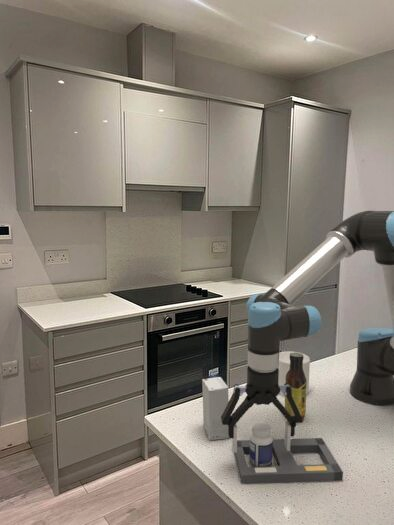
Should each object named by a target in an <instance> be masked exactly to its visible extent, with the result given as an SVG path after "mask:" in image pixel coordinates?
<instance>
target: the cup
mask: <svg viewBox="0 0 394 525" xmlns="http://www.w3.org/2000/svg"><path fill="white" fill-rule="evenodd" d="M294 352H295V351H288V350H287V351H279V367H278V369H279V378H278V385H279V386H283V385H284V384H285V383H286V374H287V372H288V371H289V369H290V353H294ZM296 352H297V353H299V352H298V351H296ZM300 353H301V354H303V371H304V374H305V377H306V380H307V381H306V396H307V395H308V394H309V388H310V370H311V369H310V367H311V359H310V357H309V356H308V355H306V354H305V353H303V352H300ZM278 395H281V396H283V397H285V395H284V394H283V393H282V392H281V391H280V392H279V394H278Z"/></svg>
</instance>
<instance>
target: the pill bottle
mask: <svg viewBox="0 0 394 525" xmlns="http://www.w3.org/2000/svg"><path fill="white" fill-rule="evenodd" d="M273 439H274V438H273V436H272V427H271V426H270V424H268V423H266V422H255V423H253V424H252V426H251V434H250V435H249V440H250V450H249V458H248V459H249V462H248V463H249V464H250V467H257V466H273V457H274V456H273Z"/></svg>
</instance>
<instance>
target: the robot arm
mask: <svg viewBox="0 0 394 525" xmlns="http://www.w3.org/2000/svg"><path fill="white" fill-rule="evenodd" d="M360 251H370V252H371V251H372V252H373V254H374V255H373V256H374V260H375V261H374V262H375V263H376V264H377V265H379V266H381V267H382V274H383V279H384V285H385V289H386V296H387V301H388V308H389V313H390V320H391V324H392V328H389V327H388V328H387V327H367V328H364V329H361V330H360V331H359V333H358V339H357V353H356V370H355V373H354V375H353V378H352V380H351V382H350V385H349V393H350V395H352V397H354V398H355V399H357V400H359V401H361V402H364V403H367V404H371V405H376V406H377V405H378V406H391V405H394V210H365V211H360V212H357V213H354V214H352V215H350V216H349V217H347V218H345V219H344V220H342V221H341V222H340V223H338V224H337V225H336V226H335V227H333V228H332V229H331V230H330V231H329V232H328V233H326V236H325V240H323V242H321V243H320V244H319V245H318V246H316V248H314V249H313V250H312V251H311V252H310V253H309V254H308V255H307V256H306V257H305V258H303V259H302V260H301V261H300V262H299V263H298V264H297V265H295V266H294V267H293V268H292V269H291V270H289V271H288V273H287V274H286V275H284V276H283V277H282V278H280V279H279V281H277V282H276V284H275V283H274V285H273V286H272V287H271V288H270V289H269V290H267V291H266V292H265V293H264V294H263V293H262V294H261V293H258V294H253V295H251V296H250V297H249V298H248V300H247V302H246V305H245V310H246V313H247V315H248V316H247V364H246V365H247V367H246V368H247V369H246V370H247V371H246V373H247V374H246V385H245V386H243V385H241V386H240V385H239V384H237V383H235V384H234V385H233V392H232V394H231V396H230V398H229V399H228V400H229V402H228V404H227V406H226V408H225V410H224V412H223V414H222V416H221V420H222V424H223V425H228V434H229V438H228V439H232V440H231V442H232V445H231V447H232V450H233V454H234V453H235V452H237V440H238V426H237V424H238V422H239V421H240V420H241V419H242V418H243V416H245V414H246V412H248V410H249V409H250V408H252V407H253V406H255V405H256V406H261V405H268V406H269V405H270V404H272V405H274V407H276V408H277V410H278V411H279V412H280V414H281V415H282V416H283V417H284V418H285V419H286V420H284V438H283V439H284V445H285V447H286V450H287V451H290V440H291V439H292V437H294V436H295V435H296V434H295V431H296V427H297V424H298V423H299V424H302V423H303V422H304V419H302V417H301V415H300V413H299V411H298V408H297V406H296V404H295V402H294V400H293V397H292V390H291V387H290V386H289V384H288V383H285V384H284V385H283V386H279V385H278V378H279V369H278V367H279V353H280V348H281V347H280V345H281V342H282V341H283V342H284V341H286V340H293V339H300V338H308V337H310V336H314V335H317V334H318V333H319V332H320V330H321V328H322V316H321V314H320V312H319V310H318V309H317V308H316V307H315V306H313V305H301V306H296V305H294V304H295V303H296V302H298V301H299V300H300V299H302V297H303V296H304V295H305V294H306V293H308V292H309V291H310V290H311V289H312V288H313V287H314V286H315V285H317V284H318V282H320V281H321V279H323V278H324V277H325V276H326V275H327V274H328V273H330V271H332V269H333V268H335V267H336V266H337V265H338V264H340V262H341V261H342V260H343V259H344V258H351V257H352V256H353V255H354V254H355V253H358V252H360ZM280 391H281V392H282V393H283V394H284V395H286V397H287V400H288V402H289V404H290V406H291V408H292V410H293V413H294V415H295V416H291V415H290V413H289V412H288V411H287V410H286V409H285V405H283V403H282V402H281V401H280V400H279V399H278V395H280V394H279V392H280ZM244 393H245V394H246V396H245V398H244V400H243V401H242V402H241V403H240V405H239V406H238V407H237V408H236V406H237V404H238V402H239V400H240V397H242V396H243V394H244ZM235 408H236V409H235Z"/></svg>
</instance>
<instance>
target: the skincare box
mask: <svg viewBox="0 0 394 525" xmlns="http://www.w3.org/2000/svg"><path fill="white" fill-rule="evenodd" d="M201 383H202V385H201V386H202V387H201V388H202V410H203V411H202V416H203V420H202V421H203V422H202V423H203V428H204V430H205V433H206V434H207V436H208V438H209V440H210V441H215V440H216V441H217V440H226V439H230V438H229V434H228V425H223V424H222V420H221V416H222V414H223V412H224V410H225V408H226V406H227V404H228V402H229V400H230V399H229V386H228V385H227V384H226V382H225V381H224V380H223V378H222V377H221V376H217V377H215V376H214V377H209V378H202V380H201Z"/></svg>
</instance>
